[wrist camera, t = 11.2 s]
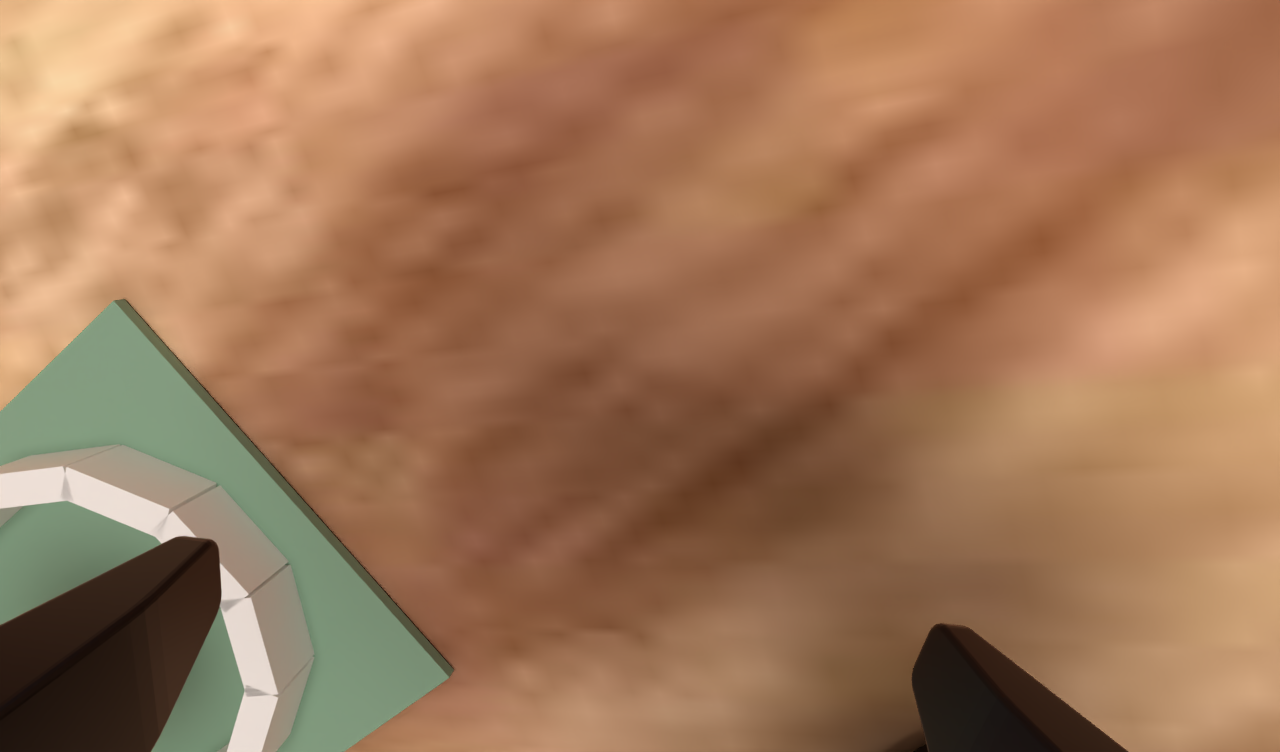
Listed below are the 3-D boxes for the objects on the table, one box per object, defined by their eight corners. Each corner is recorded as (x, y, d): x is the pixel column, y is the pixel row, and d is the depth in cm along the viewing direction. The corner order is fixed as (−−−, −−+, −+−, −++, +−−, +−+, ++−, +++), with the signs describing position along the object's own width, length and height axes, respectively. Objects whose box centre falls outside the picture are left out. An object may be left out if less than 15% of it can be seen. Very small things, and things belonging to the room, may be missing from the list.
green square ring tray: (453, 669, 23) (425, 720, 21) (153, 881, 26) (99, 946, 24) (124, 298, 22) (53, 309, 19) (-155, 571, 25) (-245, 609, 22)
